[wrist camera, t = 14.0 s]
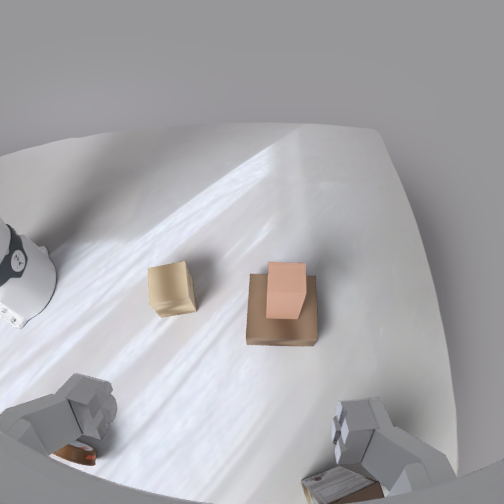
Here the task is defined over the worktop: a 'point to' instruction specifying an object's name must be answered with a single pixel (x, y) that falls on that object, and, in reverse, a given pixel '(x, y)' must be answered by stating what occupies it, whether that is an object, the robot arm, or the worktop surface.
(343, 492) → the coffee box
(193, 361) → the worktop surface
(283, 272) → the terracotta block
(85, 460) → the tin
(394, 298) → the worktop surface
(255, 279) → the walnut block
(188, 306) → the oak cube
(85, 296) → the worktop surface
